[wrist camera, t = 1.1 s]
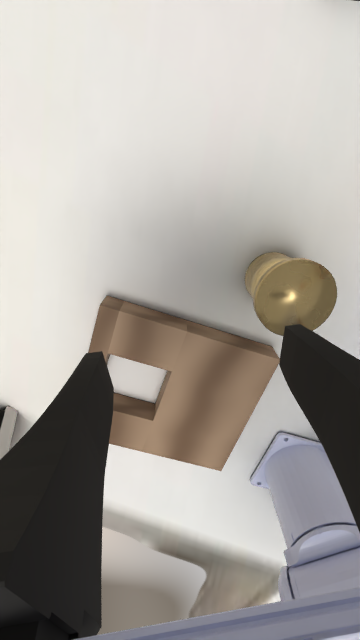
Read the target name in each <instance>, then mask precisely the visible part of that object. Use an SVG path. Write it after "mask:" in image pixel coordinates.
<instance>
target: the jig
mask: <svg viewBox="0 0 360 640" xmlns="http://www.w3.org/2000/svg"><path fill="white" fill-rule="evenodd" d="M100 351H102V352H103V355H104V359H105V362H106V365H107V363H108V359H109V356H110V354H112V355H115V356H119V357H122V358H126V359H129V360H133V361H136V362H140V363H143V364H147V365H151V366H154V367H158V368H161V369H165V370H168V371H167V374H166V376H165V379H164V382H163V384H162V387H161V390H160V392H159V395H158V398H157V400H156V403H155V404H154V403H150V402H146V401H142V400H139V399H135V398H131V397H127V396H124V395H120V394H116V393H114V394H113V417H112V425H111V432H110V439H109V444H113V445H117V446H121V447H125V448H129V449H133V450H138V451H142V452H146V453H150V454H154V455H158V456H162V457H166V458H170V459H174V460H178V461H182V462H186V463H191V464H195V465H199V466H203V467H207V468H211V469H215V470H219V471H221V470H222V468H223V467H224V465H225V463H226V461H227V459H228V457H229V455H230V453H231V452H232V450H233V448H234V446H235V444H236V442H237V440H238V439H239V437H240V435H241V433H242V431H243V429H244V427H245V425H246V424H247V422H248V420H249V418H250V416H251V414H252V412H253V411H254V409H255V407H256V405H257V403H258V401H259V399H260V397H261V396H262V394H263V392H264V390H265V388H266V386H267V384H268V383H269V381H270V379H271V377H272V375H273V373H274V371H275V370H276V368H277V366H278V364H279V362H280V358H279V357H278V355H277V354H276V352H275V351H274V349H273V347H272V346H268V345H265V344H262V343H259V342H255V341H252V340H249V339H246V338H242V337H239V336H236V335H233V334H230V333H226V332H223V331H220V330H217V329H213V328H210V327H207V326H204V325H201V324H197V323H194V322H191V321H188V320H184V319H181V318H178V317H175V316H171V315H168V314H165V313H162V312H159V311H155V310H152V309H149V308H146V307H142V306H139V305H136V304H133V303H130V302H126V301H123V300H120V299H117V298H113V297H110V296H106V298H105V299H104V300H103V302H102V303H101V304H100V307H99V311H98V315H97V319H96V323H95V327H94V331H93V335H92V339H91V343H90V347H89V352H88V353H92V352H100Z"/></svg>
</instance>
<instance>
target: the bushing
mask: <svg viewBox="0 0 360 640" xmlns="http://www.w3.org/2000/svg"><path fill="white" fill-rule="evenodd" d="M245 285H246V289H247V291H248V292H249V294H250V295H251V297H252V298H253V305H254V309H255V312H256V314H257V316H258V318H259V319H260V321H261V322H262V324H263V325H264V326H265V327H266V328H267V329H268V330H270V331H271V332H273V333H275V334H278V335H282V336H284V329H285V326H289V325H296V324H301V325H303V326H304V327H306V328H308V329H309V330H311V331H313V330H314V329H316V328H318V327H319V326H320V325H321V324H322V323H323V322H325V320H326V319H327V318H328V317H329V315H330V314H331V312H332V310H333V308H334V306H335V303H336V298H337V287H336V283H335V280H334V278H333V276H332V274H331V273H330V272H329V271H328V270H327V269H326V268H325V267H324V266H322V265H321V264H318V263H316V262H314V261H312V260H309V259H305V258H290V257H288V256H286V255H284V254H281V253H277V252H270V253H266V254H263V255H261V256H259V257H257V258H256V259H255V260H254V261H253V262H252V263H251V264H250V266H249V267H248V269H247V271H246V275H245Z"/></svg>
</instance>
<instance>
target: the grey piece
mask: <svg viewBox="0 0 360 640" xmlns="http://www.w3.org/2000/svg"><path fill="white" fill-rule="evenodd" d="M17 413H18V411H17V410H16V409H14V408H11V407H8V406H7V407H6V409H5V410H0V459H1V458H2V457H3V456H4V455H5V454H7V453H8V452H9V448H10V444H11V439H12V435H13V431H14V426H15V422H16V418H17Z"/></svg>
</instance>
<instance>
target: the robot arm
mask: <svg viewBox="0 0 360 640" xmlns="http://www.w3.org/2000/svg"><path fill="white" fill-rule="evenodd" d="M279 365H280V367H281V370H282V373H283V375H284V377H285V380H286V382H287V384H288V387H289V388H290V390H291V392H292V394H293V395H294V397H295V399H296V401H297V402H298V404H299V406H300V407H301V409H302V411H303V413H304V414H305V416H306V418H307V419H308V421H309V423H310V424H311V426H312V428H313V430H314V431H315V433H316V435H317V437H318V438H319V440H320V442H321V443H319V442H316V441H312V440H308V439H305V438H301V437H297V436H293V435H290V434H286V433H278V434H277V435H276V437H275V439H274V440H273V442H272V444H271V445H270V447H269V449H268V451H267V452H266V454H265V456H264V457H263V459H262V461H261V462H260V464H259V466H258V467H257V469H256V471H255V472H254V474H253V476H252V477H251V479H250V482H251V484H252V485H255V486H259V487H263V488H267V489H269V490H270V494H271V497H272V500H273V503H274V507H275V510H276V513H277V516H278V519H279V523H280V526H281V529H282V532H283V535H284V539H285V542H286V545H287V548H288V549H287V550H285V551H284V555H285V558H286V562H287V565H288V566H284V567H282V568H281V570H280V576H279V579H278V587H279V593H280V598H281V601H280V602H275V603H269V604H264V605H258V606H253V607H247V608H242V609H237V610H231V611H226V612H220V613H215V614H209V615H204V616H198V617H193V618H188V619H182V620H177V621H171V622H166V623H160V624H155V625H150V626H144V627H139V628H133V629H128V630H122V631H118V632H111V633H107V634H101V635H97V633H98V632H99V630H100V628H101V555H102V515H103V491H104V476H105V467H106V460H107V453H108V446H109V439H110V432H111V425H112V417H113V394H114V388H113V385H112V381H111V378H110V375H109V372H108V368H107V365H106V362H105V359H104V355H103V352H102V351H100V352H92V353H86V354H85V356H84V357H83V358H82V360H81V361H80V363H79V364H78V366H77V368H76V369H75V371H74V372H73V374H72V375H71V376H70V378H69V379H68V381H67V382H66V384H65V385H64V386H63V388H62V389H61V391H60V392H59V393H58V395H57V396H56V398H55V399H54V400H53V402H52V403H51V404H50V405H49V407H48V408H47V409H46V410H45V412H44V413H43V414H42V415H41V417H40V418H39V419H38V420H37V421H36V423H35V424H34V425H33V426H32V427H31V428H30V430H29V431H28V432H27V433H26V434H25V435H24V436H23V437H22V438H21V439H20V441H19V442H18V443H17V444H16V445H15V446H14V447H13V448H12V449H11V450H10V451H9V452H8V453H7V454H5V455H4V456H3V457H2V458H1V459H0V640H360V360H359V359H357V358H355V357H354V356H352V355H350V354H348V353H347V352H345V351H343V350H342V349H340V348H338V347H337V346H335V345H334V344H332V343H330V342H329V341H327V340H326V339H324V338H322V337H321V336H319V335H318V334H316V333H314V332H313V331H311V330H309V329H308V328H306V327H304V326H303V325H301V324H296V325H289V326H285V329H284V336H283V342H282V349H281V356H280V363H279ZM285 438H286V439H285Z"/></svg>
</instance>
